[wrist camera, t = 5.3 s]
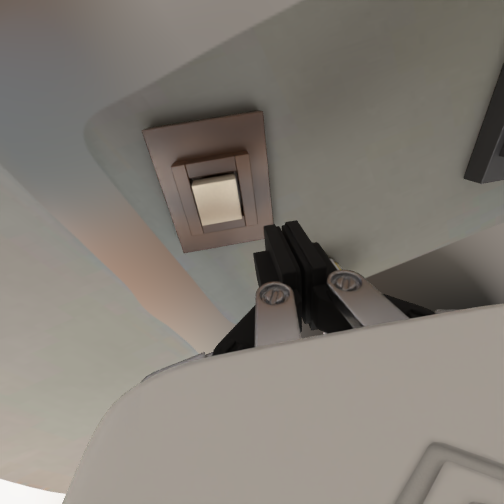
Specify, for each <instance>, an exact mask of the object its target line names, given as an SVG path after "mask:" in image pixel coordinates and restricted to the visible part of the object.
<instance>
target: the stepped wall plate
mask: <svg viewBox="0 0 504 504" xmlns="http://www.w3.org/2000/svg"><path fill="white" fill-rule="evenodd" d="M464 179H467V180H470V181H473V182H477V183H480V184H483V183H488V182H494V181H500V180H504V65H503V68H502V71H501V74H500V77H499V79H498V82H497V85H496V88H495V91H494V94H493V97H492V99H491V102H490V105H489V108H488V111H487V114H486V116H485V119H484V122H483V125H482V128H481V131H480V133H479V136H478V139H477V142H476V145H475V148H474V151H473V153H472V156H471V159H470V162H469V165H468V168H467V170H466V173H465V176H464Z"/></svg>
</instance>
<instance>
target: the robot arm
mask: <svg viewBox="0 0 504 504" xmlns="http://www.w3.org/2000/svg"><path fill="white" fill-rule="evenodd" d="M264 238H265V248H266V251H262V252H256V253H253V255H254V262H255V269H256V275H257V280H258V285H259V288H258V290H257V292H256V305H255V306H254V307H253V308H252V309H251V310H250V311H249V312H248V313H247V314H246V315H245V316H244V317H243V319H242V320H241V321H240V322H239V323H238V324H237V325H236V326H235V327H234V328H233V329H232V330H231V331H230V332H229V333H228V334H227V335H226V336H225V337H224V338H223V340H222V341H221V342H220V343H219V344H218V345H217V346H216V348H215V349H214V352H211V353H209V354H206V355H205V352H203V353H201V354H198V355H196V356H193V357H191V358H188V359H186V360H183V361H181V362H178V363H176V364H173V365H171V366H168V367H166V368H163V369H161V370H158V371H156V372H153V373H151V374H150V375H148V376H146V377H145V378H144V379H143V380H142V381H141V382H140V383H139V384H137V385H136V386H134V387H133V388H131V389H130V390H129V391H127V392H126V393H125V394H123V395H122V396H121V397H120V398H119V399H118V400H117V401H115V402H114V403H113V404H112V406H111V407H110V408H109V409H108V411H107V412H106V413H105V415H104V416H103V418H102V419H101V421H100V422H99V424H98V426H97V427H96V429H95V431H94V433H93V435H92V437H91V439H90V441H89V443H88V445H87V447H86V449H85V451H84V453H83V456H82V458H81V460H80V462H79V465H78V467H77V469H76V472H75V474H74V476H73V479H72V481H71V484H70V486H69V488H68V491H67V493H66V496H65V498H64V501H63V503H62V504H504V304H497V305H489V306H482V307H476V308H470V309H464V310H435V313H434V312H433V311H431V310H429V309H427V308H424V307H422V306H418V305H416V304H413V303H409V302H406V301H403V300H400V299H397V298H394V297H391V296H388V295H385V294H382V293H381V292H380V291H379V290H377V289H376V288H375V287H374V286H373V285H372V284H370V282H368V281H367V280H366V279H365V278H364V277H363V276H362V275H360V274H359V273H356V272H354V271H350V270H337V268H336V267H335V266H334V264H333V263H332V261H331V260H330V259H329V257H328V256H327V254H326V253H325V252H324V250H323V249H322V247H321V246H320V245H319V244H318V243H317V242H316V243H312V242H311V241H310V239H309V238H308V236H307V235H306V233H305V232H304V230H303V229H302V227H301V226H300V224H299V223H298V221H297V220H296V221H290V222H286V223H285V225H283V226H282V231H281V229H280V227H279V226H277V227H276V226H275V224H272V225H266V226H264ZM302 319H303V321H304V323H305V324H307V323H308V324H309V326H310V328H311V330H316V329H319V330H321V331H323V335H318V336H313V337H308V338H302V339H301V334H300V333H301V331H302Z"/></svg>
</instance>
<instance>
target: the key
mask: <svg viewBox="0 0 504 504" xmlns="http://www.w3.org/2000/svg"><path fill="white" fill-rule="evenodd" d="M192 190H193V194H194V198H195V201H196V205H197V209H198V212H199V216H200V220H201V223H202V226H205V225H210V224H216V223H222V222H227V221H233V220H239V219H242V213H241V207H240V201H239V195H238V189H237V183H236V178H235V174H228V175H222V176H216V177H210V178H204V179H198V180H193V183H192Z"/></svg>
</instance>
